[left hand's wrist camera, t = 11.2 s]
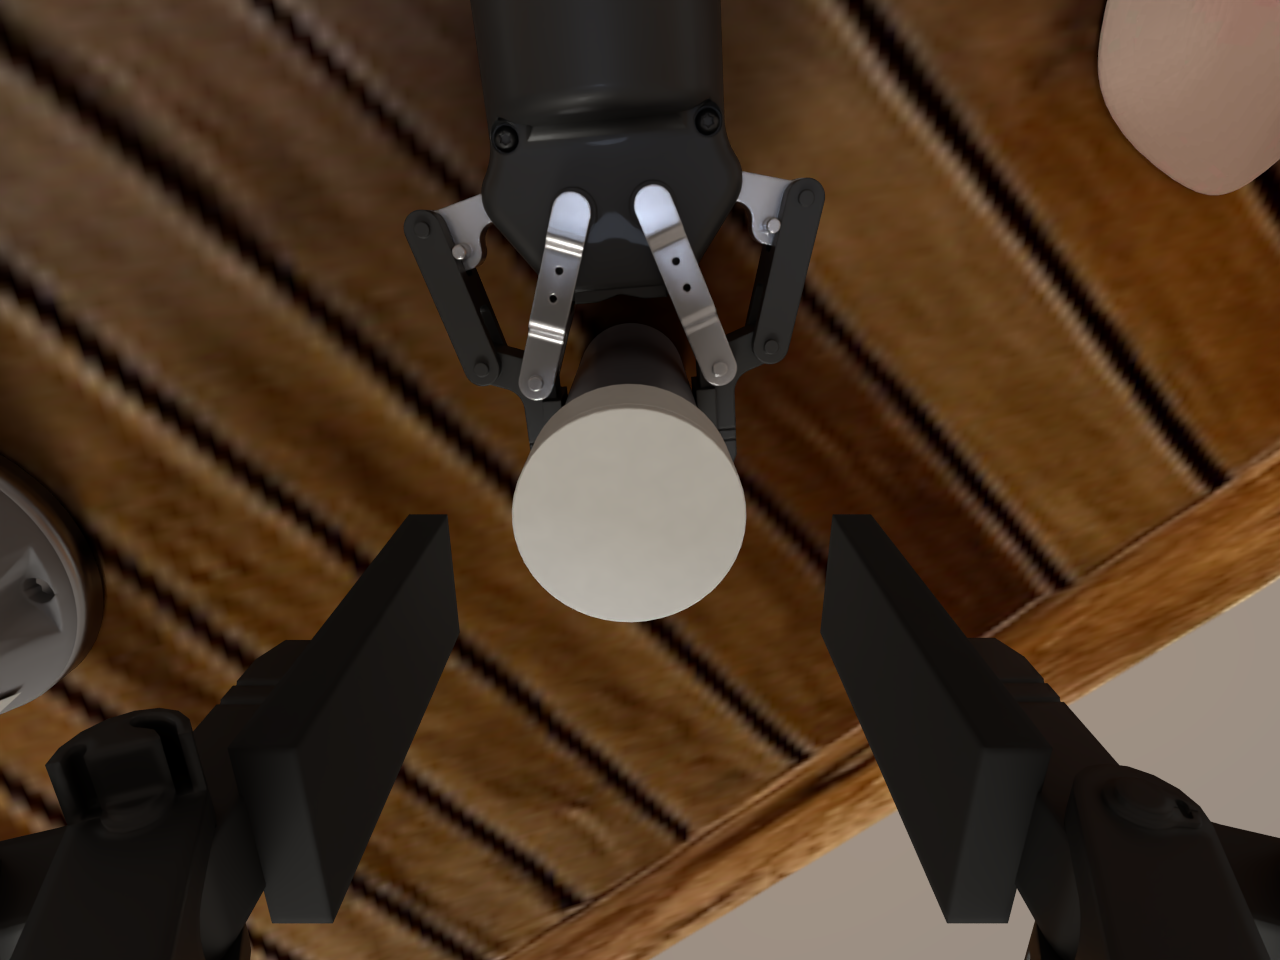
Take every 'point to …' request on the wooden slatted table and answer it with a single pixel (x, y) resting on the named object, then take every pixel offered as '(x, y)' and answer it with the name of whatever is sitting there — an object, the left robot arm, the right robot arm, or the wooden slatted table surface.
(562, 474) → the lid
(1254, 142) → the anatomical model
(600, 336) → the gray bottle
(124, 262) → the wooden slatted table surface
